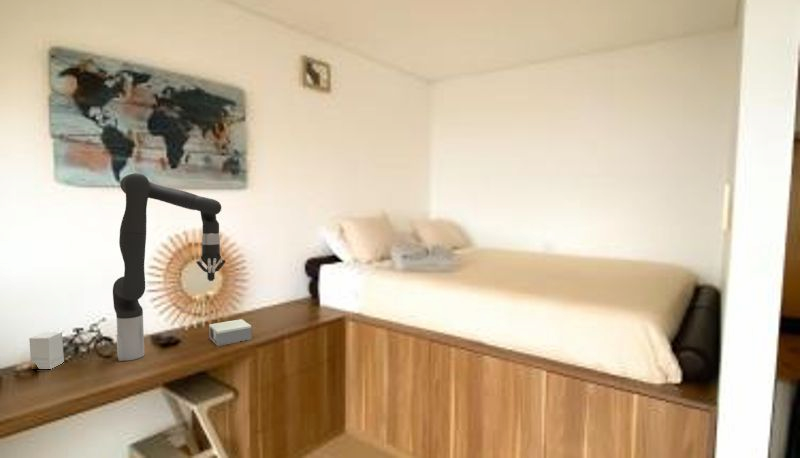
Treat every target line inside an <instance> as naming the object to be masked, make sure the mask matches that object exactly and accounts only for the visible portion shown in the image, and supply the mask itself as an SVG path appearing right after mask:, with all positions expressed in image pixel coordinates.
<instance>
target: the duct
mask: <svg viewBox="0 0 800 458" xmlns="http://www.w3.org/2000/svg"><path fill="white" fill-rule="evenodd" d="M208 327H209V326H208ZM252 338H253V337H252V327H251V328H248V329H242V330H236V331H231V332H225V333H219V334H217V341H215V340H214V333H213V329H212V328H210V327H209V339H210V340H211V342H213V343H214V344H215V345H216V346H217V347H220V346H225V345H229V344H236V343H240V341H242V342H246V341H245V340H247V341H252V340H251V339H252Z"/></svg>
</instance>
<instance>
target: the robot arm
mask: <svg viewBox="0 0 800 458" xmlns="http://www.w3.org/2000/svg"><path fill="white" fill-rule="evenodd" d="M119 184H120V185H119V186H120V189H121V190H122V192H123V193H125V209H124V213H123V216H122V219H121V224H120V229H119V238H118V239H119V241H118V242H119V249H120V252H121V253H120V254H121V256H122V260H123V263H124V264H123V265H124V274H123V276H121V277H119V278H117V279H116V280H115V281H114V283H113V286H112V300H113V308H114V312H115V317H116V349H117V351H116V353H117V358H118V361H119V362H123V361H126V362H127V361H134V360H137V359H141V358H143V357H144V356H145V335H144V332H145V331H144V311H143V309H144V308H143V307H142V306H141V305H140V302H139V300H140V299H141V298H142V297H143V295H144V294H145V291H146V273H145V272H146V271H145V256H146V243H147V242H146V241H147V206H148V200H149V199H153V200H157V201H160V202H164V203H167V204H170V205H174V206H176V207H180V208H182V209H183V208H184V209H187V210H192V211H198V212H199V213H200V218H201V222H202V233H201V235H202V236H201V255H200V259H198V260H196V261H195V264H196V265H197V266H198V267H199V268H200V269H201V270H202V271H203V272H204V273H206V274H207V275H206V277H207V280H208V281H209V282H213V281H214V280H215V275H216V274H215V273H216V272H219V271H220V270H221V268H222V267H223V266H224V265H225V263H226V260H225V259H223V258H222V256H221V251H220V250H221V244H220V243H221V241H220V240H221V239H220V237H221V236H220V223H219V221H218V220H217V215H218V214H220V212H221V211H222V205H221V203H220V201H218V200H216V199H212V198H210V197H209V198H208V197H205V196H200V195H197V194H194V193H191V192H188V191H185V190H180V189H176V188H171V187H167V186H163V185H159V184H156V183H153V182H151V181H149V179H148V177H146V176H145V175H144V174H143V173H130V174H127V175H125V176H124V177H122V179H121V180H120V183H119ZM203 263H204V264H205V266H206V267H205V266H204V265H203Z"/></svg>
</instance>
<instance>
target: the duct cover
mask: <svg viewBox="0 0 800 458" xmlns="http://www.w3.org/2000/svg"><path fill="white" fill-rule="evenodd" d="M208 325H209V326H208V327H210V328H212V329H213V330H214V331H215V332H216V333H217V334H219V333H225V332H231V331H236V330H242V329H248V328H251V329H252V325H251V324H249V323H248V322H246V321H245V320H244V319H242V318H241V319H240V318H239V319H235V320H229V321H222V322H215V323H211V324H210V323H209V324H208Z"/></svg>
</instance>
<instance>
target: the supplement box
mask: <svg viewBox="0 0 800 458" xmlns="http://www.w3.org/2000/svg"><path fill="white" fill-rule="evenodd" d="M28 339H29V352H30V353H29V354H30V364H31V363H35V364H36V365H37V367H38V368H39V369H51V370H53V369H55V368H54V367H56V366H58V365H60V364H62V363H63V362H64V363H65V358H64V356H65V355H64V341H63V332H59V331H58V332H53V331H51V332H49V331H47V332H45V331H43V332H42V333H39V334H37V335H34V336H31V337H29V338H28ZM64 363H63V364H64ZM63 364H62V365H63ZM60 366H61V365H60ZM58 367H59V366H58ZM52 368H53V369H52ZM56 368H57V367H56Z"/></svg>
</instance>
